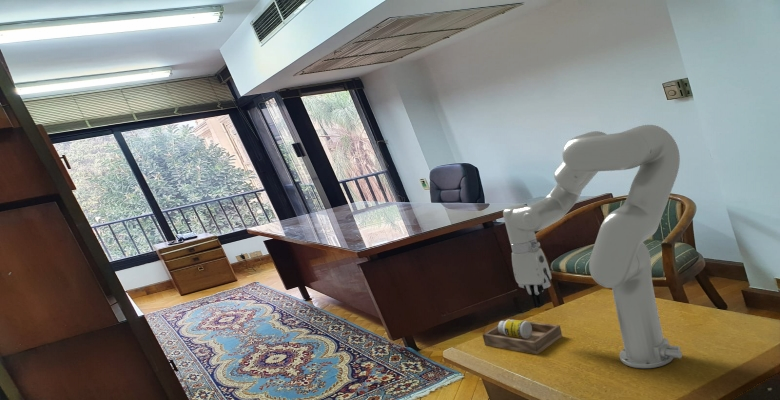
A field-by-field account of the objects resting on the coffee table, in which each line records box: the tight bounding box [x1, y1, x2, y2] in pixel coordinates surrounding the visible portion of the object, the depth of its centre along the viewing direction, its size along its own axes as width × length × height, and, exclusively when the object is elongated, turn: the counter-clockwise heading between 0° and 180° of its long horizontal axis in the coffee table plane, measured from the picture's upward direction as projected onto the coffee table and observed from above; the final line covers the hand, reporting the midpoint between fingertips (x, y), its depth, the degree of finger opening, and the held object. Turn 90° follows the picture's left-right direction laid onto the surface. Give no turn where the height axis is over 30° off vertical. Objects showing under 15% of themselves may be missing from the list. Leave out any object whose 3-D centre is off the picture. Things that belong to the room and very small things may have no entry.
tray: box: [482, 318, 563, 355], centre depth 165 cm, size 20×13×4 cm, turn 40°
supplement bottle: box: [497, 318, 532, 339], centre depth 166 cm, size 5×5×10 cm
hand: (539, 305), depth 157 cm, fingers closed
